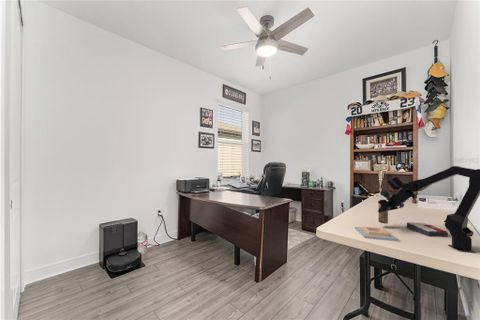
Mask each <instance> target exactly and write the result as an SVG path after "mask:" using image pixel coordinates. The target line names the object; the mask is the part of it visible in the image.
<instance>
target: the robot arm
mask: <svg viewBox="0 0 480 320" xmlns="http://www.w3.org/2000/svg"><path fill="white" fill-rule="evenodd" d="M454 176H462V177H465V178H469V179H468V187H467V189H466V191H465V193H464V195H463V197H462V198H461V201H460V203H459V205H458V206H457V209H456V210H455V212H454V213H448V214H447V215H446V219H445V220H444V221H443V222H444V227H445V228H446V231H448V233H449V234H450V237H451V244H447V246H448V247H451V248H452V249H454V250H456V251H458V252H465V253H467V252H468V253H476V252H477V251H476V250H474V249H472V244H473V243H472V237H473V235H474V234H475V233H474V231H473V230H472V229H470V228H469V227H468V224H469V216H470V213H471V211H472V209H473V208H474V206H475V205H476V202H477V201H478V199H479V197H480V168H477V169H475V168H469V167H462V166H460V165H458V166H457V165H453V166H450V167H449V168H447V169H446V168H445V169H444V170H441V171H439V172H436V173H434V174H432V175H429V176H427V177H424V178H420V179H416V180H411V181H409V182H404V181H403V180H402V179H401V178H400V177H399V176H395V177H393V178H391V179H389V180H388V181H387V182H386V184H387V185H388V186H389V187H390V188H391V189H392V190H393V191H397V192H396V193H393V192H391V191H389V190H387V189H382V190H381V191H380V194H379V195H380V196H383V197H384V198H386V199H384V198H383V199H380V200H378V201H377V203H378V205H379V204H380V205H381V207H380V208H379V207H378V210H377V212H378V213H379V212H384V211H388V212H389V211H390V212H391V211H393V210H394V211H395V210H398V209H403V208H404V207H405V203H406V202H407V201H408V200H409V199H410V198H412V199H418V193H415V192H422V191H424V190H426V189H427V188H429V187H430V186H432V185H434V184H437V183H439V182H443V181H444V180H446V179H449V178H452V177H454Z"/></svg>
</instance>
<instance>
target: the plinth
mask: <svg viewBox="0 0 480 320" xmlns="http://www.w3.org/2000/svg"><path fill="white" fill-rule="evenodd" d="M354 230H355V231H357V232H358V233H359V234H360V235H361V236H362V237H363V238H364V239H374V240H382V241H392V242H400V239H399V238H398V237H397V236H395V235H394V234H392V233H391V232H389V231H387V230H386V229H383V228H382V227H372V226H363V225H362V227H360V226H354Z"/></svg>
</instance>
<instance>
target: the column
mask: <svg viewBox="0 0 480 320" xmlns="http://www.w3.org/2000/svg"><path fill="white" fill-rule="evenodd" d="M380 207H381V205H380V204H379V203H378V209H379V208H380ZM377 218H378V220H377V221H378V223H380V224H385V225H387V224H388V223H389V211H384V212H378V217H377Z"/></svg>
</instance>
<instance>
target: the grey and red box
mask: <svg viewBox="0 0 480 320" xmlns="http://www.w3.org/2000/svg"><path fill="white" fill-rule="evenodd" d="M406 228H407V229H408V230H410V231H414V232H416V233H419V234H420V235H424V236H427V237H431V238H433V237H434V238H448V237H449V231H448V230H444V229H442V228H440V227H437V226H434V225H431V224H428V223H425V222H406Z"/></svg>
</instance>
